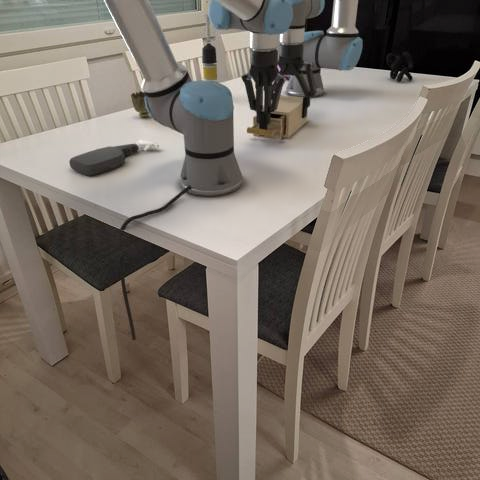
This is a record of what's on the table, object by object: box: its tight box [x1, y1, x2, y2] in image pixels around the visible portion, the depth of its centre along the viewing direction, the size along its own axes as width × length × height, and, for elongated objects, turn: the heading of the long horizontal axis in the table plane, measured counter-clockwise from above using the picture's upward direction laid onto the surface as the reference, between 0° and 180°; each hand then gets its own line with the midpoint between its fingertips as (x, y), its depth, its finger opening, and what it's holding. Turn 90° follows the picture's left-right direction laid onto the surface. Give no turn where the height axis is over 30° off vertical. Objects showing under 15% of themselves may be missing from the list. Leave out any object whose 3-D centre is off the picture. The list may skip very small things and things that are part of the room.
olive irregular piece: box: [130, 90, 150, 118], centre depth 157 cm, size 8×7×8 cm
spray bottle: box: [68, 139, 160, 177], centre depth 124 cm, size 3×11×24 cm
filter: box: [201, 14, 219, 83], centre depth 171 cm, size 6×6×30 cm
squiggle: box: [385, 51, 414, 83], centre depth 198 cm, size 11×10×15 cm
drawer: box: [246, 113, 286, 141], centre depth 138 cm, size 23×9×6 cm, turn 154°
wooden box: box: [262, 94, 309, 139], centre depth 144 cm, size 18×10×8 cm, turn 154°
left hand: (263, 134), depth 132 cm, fingers closed
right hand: (288, 115), depth 148 cm, fingers closed on wooden box, 10 cm apart
